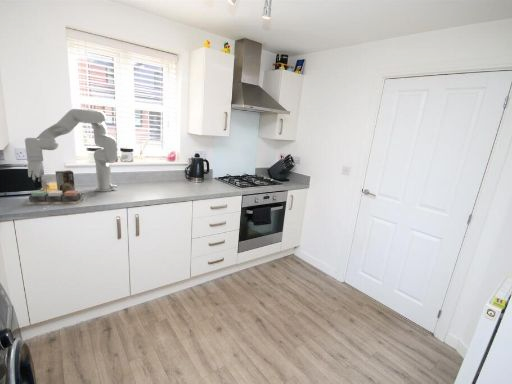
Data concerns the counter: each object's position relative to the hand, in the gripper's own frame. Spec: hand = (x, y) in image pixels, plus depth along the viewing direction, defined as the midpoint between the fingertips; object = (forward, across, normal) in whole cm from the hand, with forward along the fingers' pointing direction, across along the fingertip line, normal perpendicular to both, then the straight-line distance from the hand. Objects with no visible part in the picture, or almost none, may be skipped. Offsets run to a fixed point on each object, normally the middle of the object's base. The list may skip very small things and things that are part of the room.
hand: (38, 187), depth 163 cm
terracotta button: (+6, 0, +17) cm, 18 cm away
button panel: (+9, 0, +8) cm, 13 cm away
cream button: (+6, 0, +8) cm, 11 cm away
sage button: (+6, 0, 0) cm, 6 cm away
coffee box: (+9, -20, +8) cm, 24 cm away
